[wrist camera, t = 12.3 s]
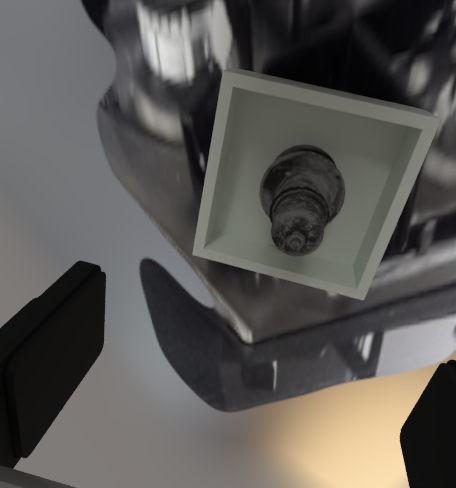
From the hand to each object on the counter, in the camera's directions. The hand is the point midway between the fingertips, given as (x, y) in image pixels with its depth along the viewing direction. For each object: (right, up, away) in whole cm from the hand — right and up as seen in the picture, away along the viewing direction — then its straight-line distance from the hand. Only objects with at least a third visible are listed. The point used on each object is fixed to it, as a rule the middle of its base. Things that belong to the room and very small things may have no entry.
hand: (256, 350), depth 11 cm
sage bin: (+5, +8, +20) cm, 22 cm away
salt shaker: (+5, +8, +20) cm, 22 cm away
